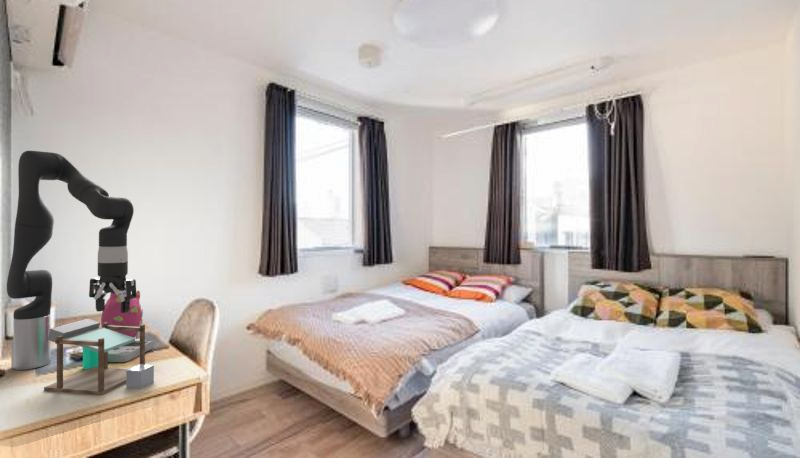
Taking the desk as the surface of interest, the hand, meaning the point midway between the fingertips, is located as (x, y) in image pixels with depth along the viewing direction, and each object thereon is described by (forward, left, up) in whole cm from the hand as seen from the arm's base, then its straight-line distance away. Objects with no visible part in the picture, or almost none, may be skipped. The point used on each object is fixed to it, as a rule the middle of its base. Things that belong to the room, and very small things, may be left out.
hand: (112, 311), depth 117 cm
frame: (-5, 0, -23) cm, 23 cm away
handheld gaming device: (-15, +22, -23) cm, 35 cm away
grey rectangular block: (+10, 0, -17) cm, 20 cm away
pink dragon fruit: (-27, +32, -23) cm, 48 cm away
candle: (-18, +11, -23) cm, 31 cm away
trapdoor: (-7, 0, -10) cm, 12 cm away
